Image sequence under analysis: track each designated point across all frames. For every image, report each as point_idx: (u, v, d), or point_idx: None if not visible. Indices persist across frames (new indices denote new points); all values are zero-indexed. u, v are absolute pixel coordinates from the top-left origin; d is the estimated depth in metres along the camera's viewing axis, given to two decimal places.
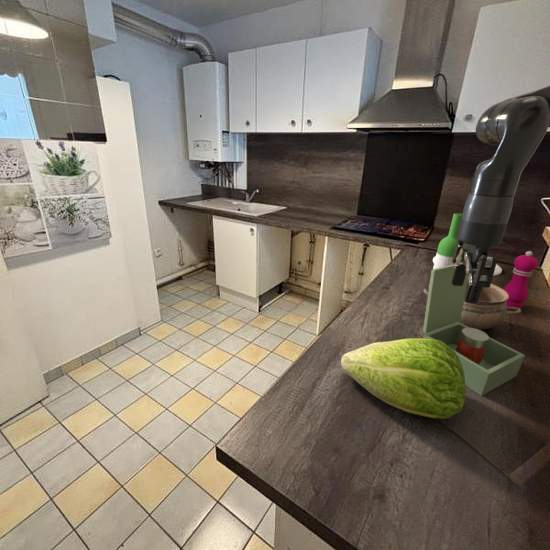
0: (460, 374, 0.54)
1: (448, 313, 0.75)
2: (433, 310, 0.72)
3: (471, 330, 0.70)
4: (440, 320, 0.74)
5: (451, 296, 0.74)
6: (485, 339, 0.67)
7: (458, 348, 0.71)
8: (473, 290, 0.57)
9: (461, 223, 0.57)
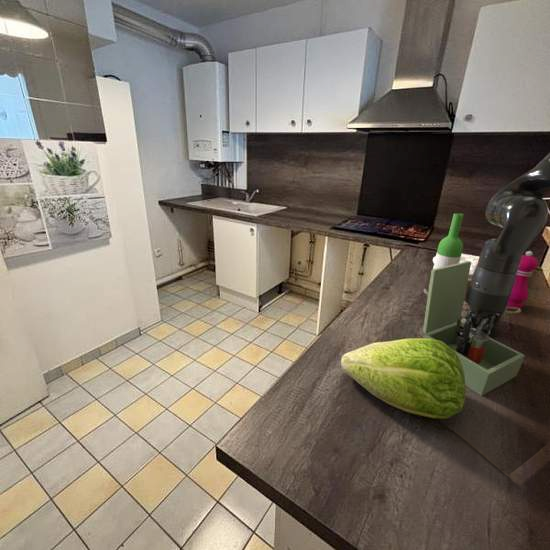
0: (460, 374, 0.54)
1: (448, 313, 0.75)
2: (433, 310, 0.72)
3: None
4: (440, 320, 0.74)
5: (451, 296, 0.74)
6: (485, 339, 0.67)
7: None
8: (460, 342, 0.68)
9: None
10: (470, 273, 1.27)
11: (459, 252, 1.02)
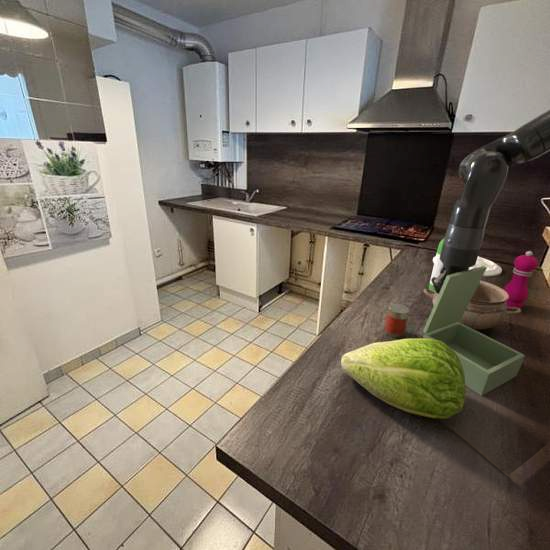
0: (460, 374, 0.54)
1: (451, 315, 0.75)
2: (438, 313, 0.71)
3: (396, 305, 0.83)
4: (442, 321, 0.74)
5: (458, 300, 0.72)
6: (405, 311, 0.80)
7: (386, 321, 0.84)
8: None
9: None
10: None
11: None
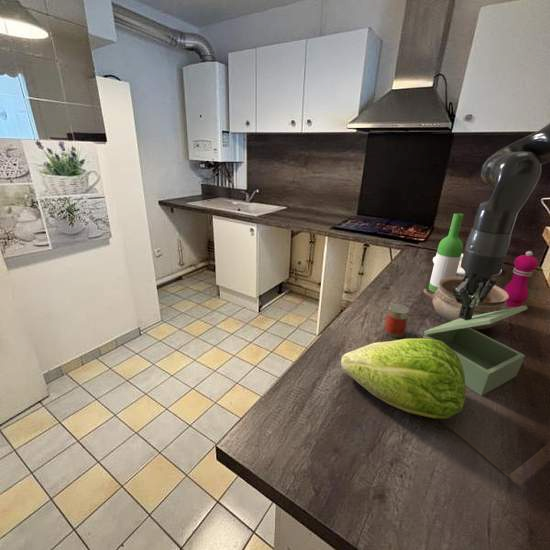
0: (460, 374, 0.54)
1: None
2: None
3: (396, 305, 0.83)
4: None
5: None
6: (405, 311, 0.80)
7: (386, 321, 0.84)
8: (462, 307, 0.69)
9: None
10: None
11: (459, 252, 1.02)
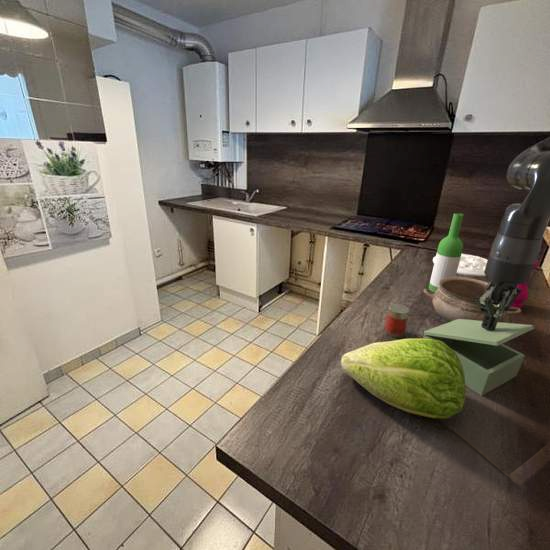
0: (460, 374, 0.54)
1: None
2: None
3: (396, 305, 0.83)
4: None
5: None
6: (405, 311, 0.80)
7: (386, 321, 0.84)
8: (485, 317, 0.65)
9: None
10: (470, 273, 1.27)
11: (459, 252, 1.02)
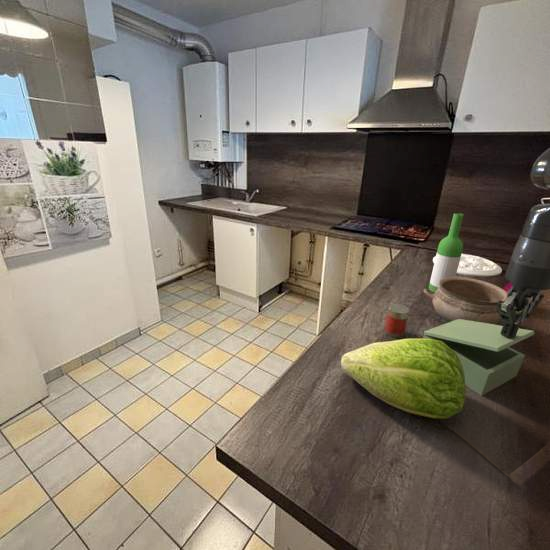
0: (460, 374, 0.54)
1: None
2: None
3: (396, 305, 0.83)
4: None
5: None
6: (405, 311, 0.80)
7: (386, 321, 0.84)
8: (505, 324, 0.61)
9: None
10: (470, 273, 1.27)
11: (459, 252, 1.02)
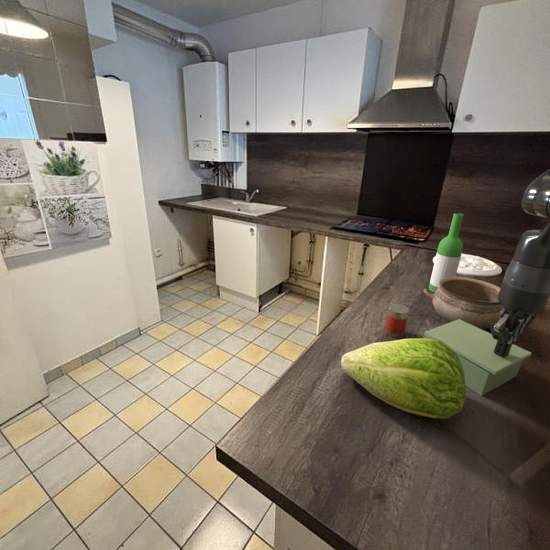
0: (460, 374, 0.54)
1: None
2: None
3: (396, 305, 0.83)
4: None
5: None
6: (405, 311, 0.80)
7: (386, 321, 0.84)
8: (498, 343, 0.63)
9: None
10: (470, 273, 1.27)
11: (459, 252, 1.02)
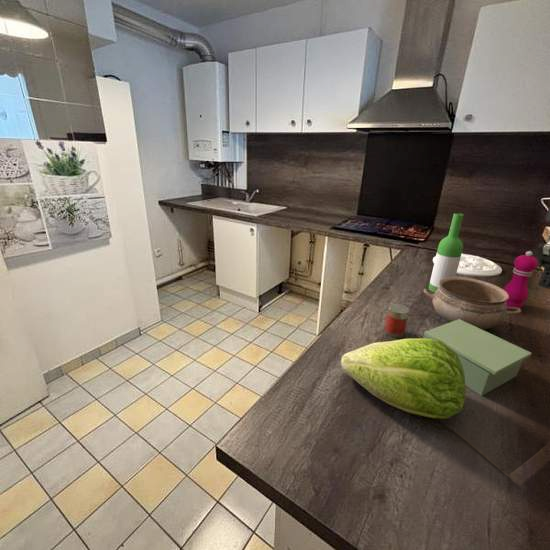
0: (460, 374, 0.54)
1: None
2: None
3: (396, 305, 0.83)
4: None
5: None
6: (405, 311, 0.80)
7: (386, 321, 0.84)
8: (544, 272, 0.56)
9: None
10: (470, 273, 1.27)
11: (459, 252, 1.02)
